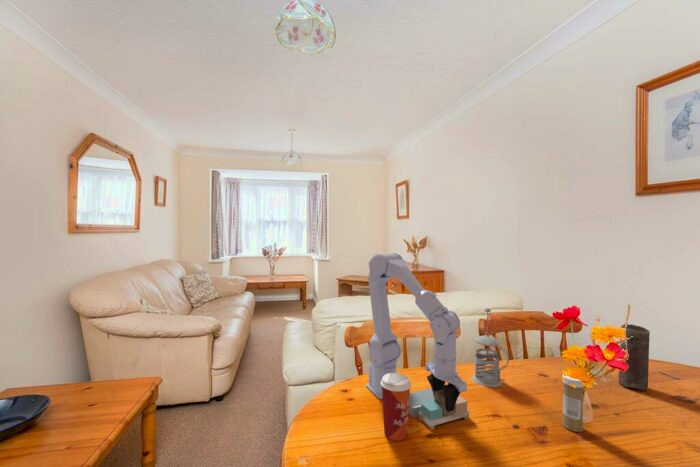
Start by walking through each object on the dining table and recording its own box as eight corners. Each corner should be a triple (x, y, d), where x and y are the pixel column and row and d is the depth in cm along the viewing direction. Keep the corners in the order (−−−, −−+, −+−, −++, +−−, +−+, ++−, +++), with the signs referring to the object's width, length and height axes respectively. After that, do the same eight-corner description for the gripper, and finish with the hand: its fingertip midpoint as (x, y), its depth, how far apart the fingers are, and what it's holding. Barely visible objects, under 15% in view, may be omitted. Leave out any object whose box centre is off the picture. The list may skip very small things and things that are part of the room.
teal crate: (420, 412, 87) (421, 403, 87) (432, 409, 89) (432, 400, 89) (430, 420, 83) (430, 411, 83) (442, 417, 85) (442, 407, 85)
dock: (398, 404, 95) (398, 395, 95) (439, 394, 101) (439, 385, 101) (413, 417, 88) (413, 408, 88) (455, 405, 94) (455, 397, 94)
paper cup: (403, 447, 76) (404, 388, 76) (374, 436, 80) (375, 380, 80) (415, 430, 82) (415, 376, 82) (388, 421, 87) (388, 369, 86)
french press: (475, 371, 118) (476, 303, 118) (510, 380, 111) (511, 308, 111) (468, 381, 110) (469, 308, 110) (505, 391, 103) (506, 314, 103)
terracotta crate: (446, 406, 91) (446, 397, 91) (457, 403, 92) (457, 394, 92) (456, 413, 87) (456, 404, 87) (467, 410, 89) (467, 401, 89)
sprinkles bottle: (586, 429, 84) (586, 377, 84) (578, 435, 81) (579, 382, 81) (566, 420, 87) (567, 371, 87) (558, 425, 85) (559, 375, 85)
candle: (645, 385, 108) (646, 326, 108) (651, 394, 102) (652, 331, 102) (616, 379, 112) (617, 322, 112) (620, 388, 106) (621, 327, 106)
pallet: (418, 419, 87) (419, 393, 87) (456, 408, 93) (456, 384, 93) (430, 429, 83) (430, 402, 83) (469, 418, 88) (469, 392, 88)
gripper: (476, 364, 83) (475, 417, 83) (439, 346, 96) (438, 391, 96) (454, 369, 80) (454, 423, 80) (419, 349, 93) (419, 396, 93)
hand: (444, 406), depth 88 cm, fingers closed on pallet, 4 cm apart
